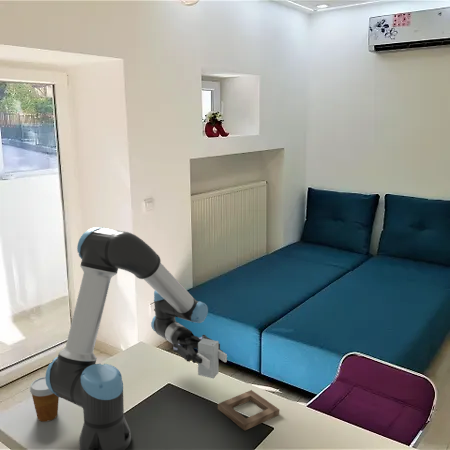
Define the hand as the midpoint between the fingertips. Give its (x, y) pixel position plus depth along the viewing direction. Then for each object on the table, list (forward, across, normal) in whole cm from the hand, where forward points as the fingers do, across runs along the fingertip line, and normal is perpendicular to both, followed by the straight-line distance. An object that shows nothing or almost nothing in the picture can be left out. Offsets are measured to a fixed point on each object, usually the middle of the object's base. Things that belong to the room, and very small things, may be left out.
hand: (217, 361), depth 163 cm
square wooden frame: (+8, -7, -17) cm, 20 cm away
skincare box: (-5, 0, -7) cm, 9 cm away
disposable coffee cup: (-30, +47, -18) cm, 59 cm away
